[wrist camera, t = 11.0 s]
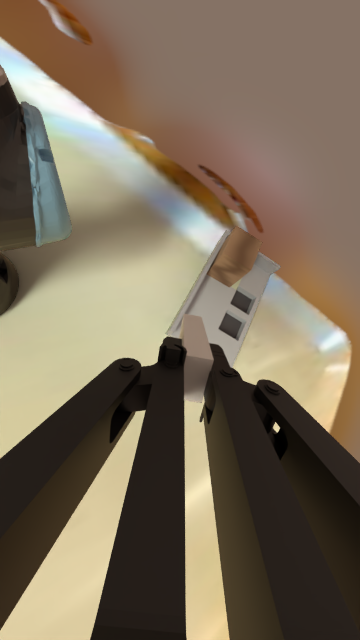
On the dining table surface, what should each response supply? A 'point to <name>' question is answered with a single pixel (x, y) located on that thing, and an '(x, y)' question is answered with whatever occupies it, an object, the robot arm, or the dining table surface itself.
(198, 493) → the dining table surface
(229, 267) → the block
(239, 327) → the deck
